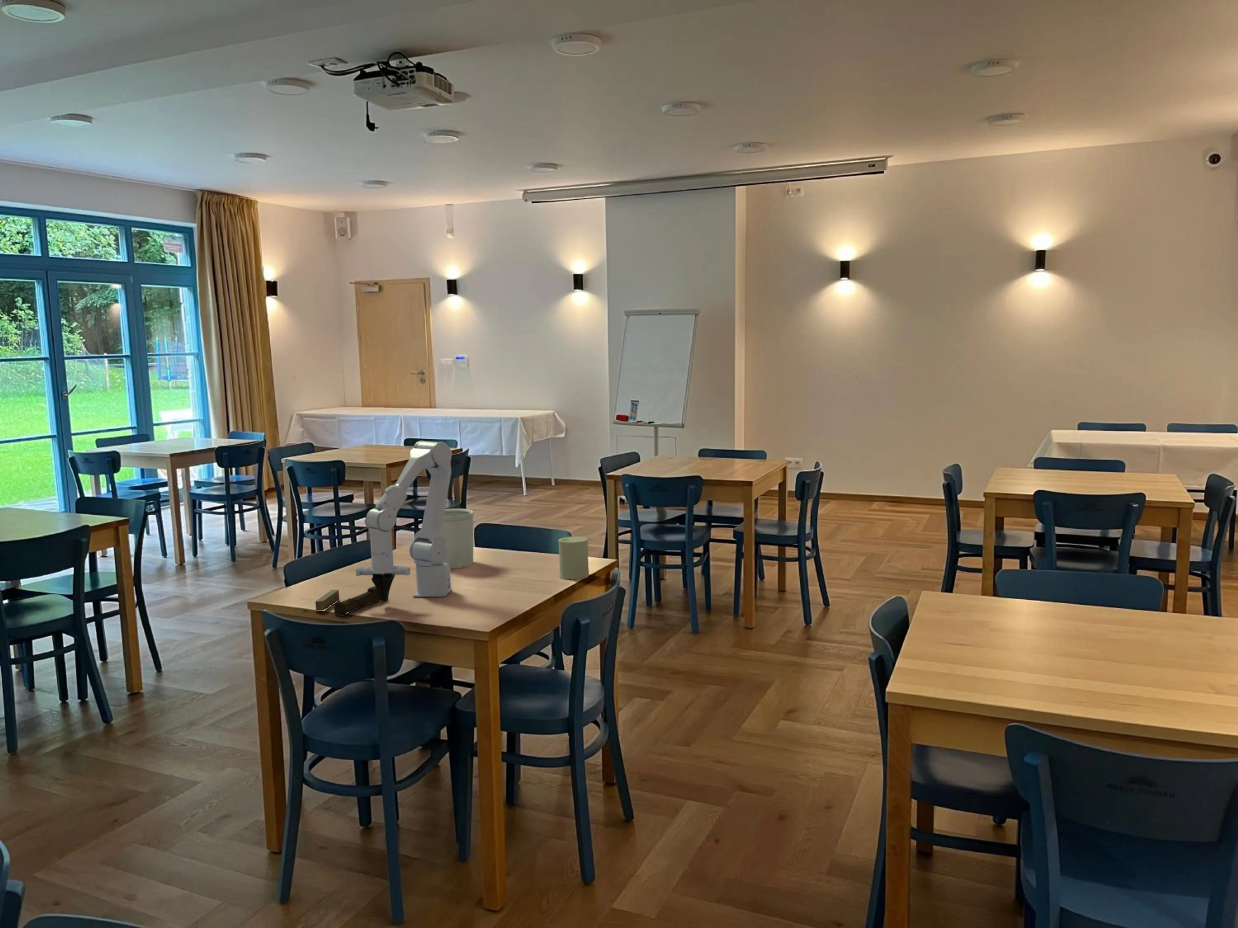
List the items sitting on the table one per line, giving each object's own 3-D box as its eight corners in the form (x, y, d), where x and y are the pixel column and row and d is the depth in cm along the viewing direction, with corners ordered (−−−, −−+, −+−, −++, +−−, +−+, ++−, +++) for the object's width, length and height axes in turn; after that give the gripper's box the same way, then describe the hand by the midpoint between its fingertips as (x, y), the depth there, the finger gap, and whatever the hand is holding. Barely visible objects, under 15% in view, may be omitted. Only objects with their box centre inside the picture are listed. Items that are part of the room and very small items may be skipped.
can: (556, 574, 278) (554, 536, 277) (584, 571, 281) (583, 533, 280) (563, 581, 270) (562, 541, 268) (592, 577, 272) (591, 539, 271)
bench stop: (339, 600, 254) (338, 589, 254) (323, 612, 242) (322, 601, 242) (332, 600, 254) (331, 589, 254) (316, 612, 242) (315, 601, 242)
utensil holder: (478, 558, 303) (476, 507, 301) (472, 568, 288) (470, 515, 286) (434, 560, 303) (431, 508, 301) (426, 570, 288) (424, 516, 286)
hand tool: (344, 617, 237) (343, 600, 237) (333, 616, 239) (332, 599, 239) (392, 600, 254) (391, 584, 254) (381, 598, 256) (380, 582, 256)
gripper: (350, 555, 241) (353, 604, 242) (403, 555, 240) (406, 604, 242) (359, 550, 248) (362, 597, 249) (411, 549, 247) (413, 597, 249)
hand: (384, 600), depth 246 cm, fingers closed
